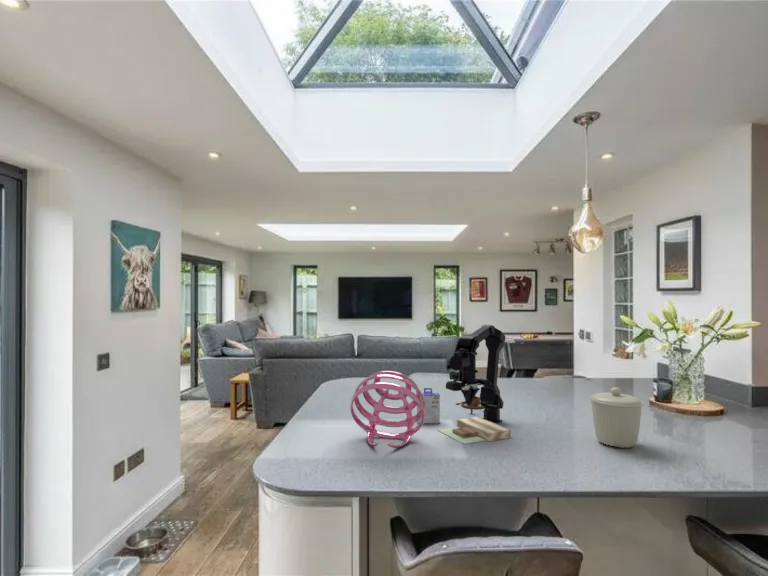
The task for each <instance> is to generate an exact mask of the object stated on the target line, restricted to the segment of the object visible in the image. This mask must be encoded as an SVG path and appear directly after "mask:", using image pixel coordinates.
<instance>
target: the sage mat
mask: <svg viewBox="0 0 768 576" xmlns="http://www.w3.org/2000/svg"><path fill="white" fill-rule="evenodd" d="M456 428H459V427H457V426H455V427H449V428H447V427H446V428H441V429H437V432H439V433H442V435H445V436H446V437H448V438H451V439H453V440H454V441H456V442H459V443H460V444H462V445H469V444H476V443H479V442H486V440H485V439H482V438H480V437H478V436H473V437H467V438H462V437H460V436H458V435H456V434H454V433H453V429H456Z"/></svg>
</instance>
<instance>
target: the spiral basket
mask: <svg viewBox="0 0 768 576" xmlns="http://www.w3.org/2000/svg"><path fill="white" fill-rule="evenodd" d="M381 379H391V380H395V381H396V380H397V381H400V382H402V383H404V384H405V387H404V386H402V385H399V384H396V383H393V382H392V383H391V382H384V381H383V382H381ZM372 380H374V381H373V383H369V382H370V381H372ZM412 388H413V390H415V393H414V392H413V391H412ZM384 389H385V390H384ZM371 390H374V391H375V392H376V393H377V394H378V395H379V396H380V399H379V400H378V401H376V400H375V399H374V398H373V397H372V396H371V394H370V392H369V391H371ZM390 390H391V391H395V392H397V393H390V392H389V391H390ZM422 393H423V392H422V391H421V389H419V386H418V384H416V382H415V381H414V380H413V379H412V378H411V377H409V376H408V375H406V374H404V373H402V372H399V371H394V370H380V371H376V372H374V373H372V374H370V375H369V376H367V377H366V378H365V379H363V380H362V381H360V383H359V384H358V385H357V387H356V388H355V391H354V394H353V395H352V398H351V400H350V407H349V409H350V414H351V417H352V419H353V420H354V422H355V423H356V424H357V426H359V428H361V429H362V430H364V431H365V433H366V434H367V437H366V438H367V442H368V444H369V445H370V446H372V447H377V446H378V445H379V442H374V437H377V438H378V437H379V438H381V439H382V438H383V439H388V440H391V439H392V440H393V439H394V440H397V439H404V440H403V442H402V443H400V444H397V445H396V444H392V443H388V442H387V443H386V445H387V446H388V447H390V448H392V449H399V448H403V447H404V446H406V444H408V443H409V441H410V440H411V438H412V436H413V435H414V434H417V432H419V430H421V428H422V426H423V424H425V423H424V420H425V400H424V397H423V395H422ZM361 394H362V395H363V398H364V400H365V401H366V403H368V404H369V405H370V406H371V407H372V408H373V412H372V413H371V412H369V411H368V410H367V409H365V408H364V406H363V404H362V403H361V401H360V398H359V396H360V395H361ZM420 396H421V399H422V402H421V400H420ZM407 397H409V398H410V399H412V401H411V402H408V400H407ZM386 399H387V400H390V401H402V402H403V405H402V406H388V405H384V402H385V400H386ZM417 404H418V406H419V407H420V411H419V412H418V413H417V412H416V414H415V415H413V413H412V411H413V410H414V409H415V408H417ZM354 405H355V407H356V409H357V411H358V412H359V413H360V414H361V415H362V416H363V417H364V418H366V420H368V424H365V423H364V422H363V421H361V420H360V418H359V416H357V414H356V413H355V410H354ZM382 412H383V413H386V414H391V415H392V414H393V415H397V414H398V415H399V414H405V415H406V418H405V419H403V420H388V419H383V418H381V417H380V415H379V414H380V413H382ZM421 416H422V421H421V422H420V423H418V425H417V426H415V427H414V425H415V424H416V422H417V420H419V419H420V418H421ZM377 425H379V426H383V427H388V428H402V427H406V430H405V431H403V432H399V433H397V432H395V433H391V432H385V431H381V430H380V431H379V430H377V429H376V426H377Z"/></svg>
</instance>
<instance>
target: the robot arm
mask: <svg viewBox="0 0 768 576" xmlns="http://www.w3.org/2000/svg"><path fill="white" fill-rule="evenodd" d="M483 341H485V342H484V343H485V347H486V349H487V351H488V352H487V353H488V354H487V365H486V378H485V377H478V378H477V377H476V376H477V373H479V371H478V369H477V368H476V365H477V364H476V362H477V361H476V356H477V355H478V352H477V350H478V349H479V347H480V343H481V342H483ZM505 342H506V335H505V334H504V333H503V332H502V330H500V329H498V328H496V327H495V326H494V325H492V324H482V325H481V327H479V328H478V329H476V330H474V331H473V332H472V333H469V334H464V335H463V334H462V335H461V336H459V339H458V340H457V343H456V346H455V348H454V352H453V356H451V358H450V359H449V366H450V368H451V369H453V370H454V371H453V370H452V371H449V373H448V374H449V375H448V376H449V377H448V378H449V380H450V381H449V380H448V381H447V382H446V383H445V389H446V390H450V391H453V392H458V391H460V392H461V394H462V395H463V398H464V401H466V403H467V404H466V406H470V405H471V403H472V401H473V399H474V397H475V396H476V395H477V394H478V392H479V391H480V394H479V397H480V402H481V405H480V406H484V408H483V417H482V418H483V419H485V420H488V421H490V422H493V423H495V424H496V423H501V422H503V420H502V419H501V413H500V412H501V410H502V409H504V401H503V399H502V397H501V391H500V388H499V387H498V375H499V373H498V372H499V364H500V363H499V362H500V352H502V349H504V346H505ZM456 371H458V372H456ZM478 386H481V387H480V388H478Z"/></svg>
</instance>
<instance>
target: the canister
mask: <svg viewBox="0 0 768 576" xmlns="http://www.w3.org/2000/svg"><path fill="white" fill-rule="evenodd" d="M589 400H590V401H591V402H590V403H591V410H592V419H593V426H594V431H595V436H596V439H597V441H599V442H600V443H601V444H603V443H604V444H603V445H605V444H606V446H608V445H610V446H609V447H611V446H616V447H631V448H634V447H635V446H636V445H637V443H638V439H639V435H640V434H639V433H640V425H641V416H642V407H643V406H644V405H645V403H644V401H642V400H641V399H640V398H638V397H636V396H633V395H630V394H626V393H622V390H621V388H619V387H611V388H610V392H597V393H594V394H593V395H592V394H591V395H590V396H589ZM616 447H615V448H616Z"/></svg>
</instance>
